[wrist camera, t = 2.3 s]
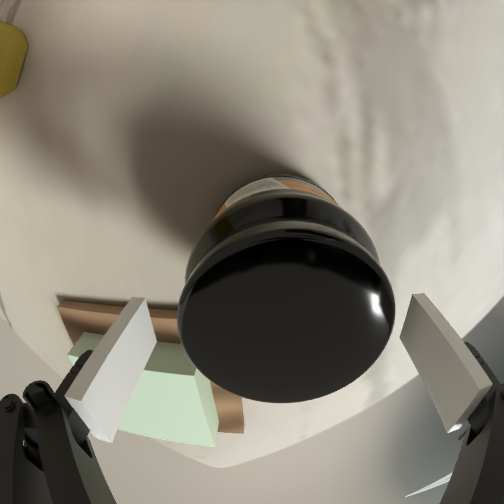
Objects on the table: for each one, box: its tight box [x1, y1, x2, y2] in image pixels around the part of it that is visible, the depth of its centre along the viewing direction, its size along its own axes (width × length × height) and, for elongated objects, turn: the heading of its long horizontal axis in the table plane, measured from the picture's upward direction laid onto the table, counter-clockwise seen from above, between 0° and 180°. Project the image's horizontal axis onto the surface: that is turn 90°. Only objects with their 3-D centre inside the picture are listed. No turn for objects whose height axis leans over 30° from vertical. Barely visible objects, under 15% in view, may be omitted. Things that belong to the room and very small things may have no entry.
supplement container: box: [177, 174, 395, 403], centre depth 17 cm, size 10×10×12 cm
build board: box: [57, 300, 244, 434], centre depth 29 cm, size 20×20×2 cm
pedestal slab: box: [67, 332, 219, 447], centre depth 26 cm, size 14×14×4 cm
